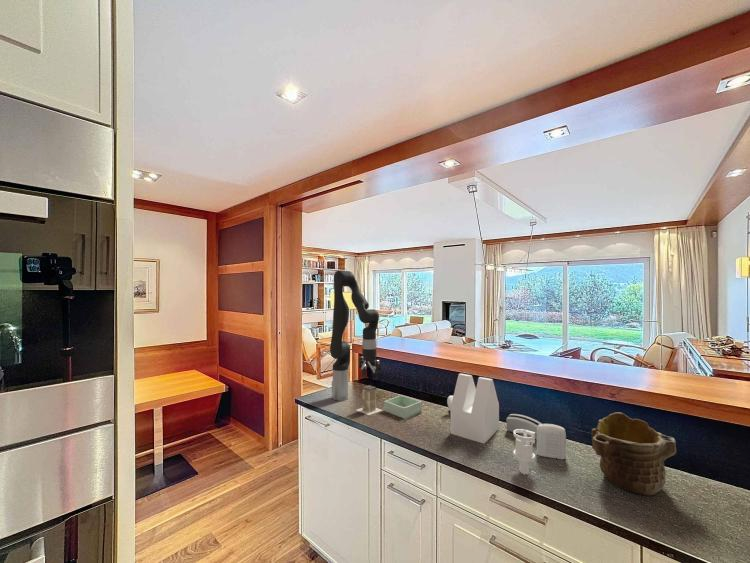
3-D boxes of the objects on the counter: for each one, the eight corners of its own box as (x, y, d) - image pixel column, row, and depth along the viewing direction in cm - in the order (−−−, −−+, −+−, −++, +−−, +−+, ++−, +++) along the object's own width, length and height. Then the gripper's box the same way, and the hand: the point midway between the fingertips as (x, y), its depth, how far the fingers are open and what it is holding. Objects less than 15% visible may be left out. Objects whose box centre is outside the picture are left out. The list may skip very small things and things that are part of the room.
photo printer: (564, 455, 129) (564, 424, 129) (567, 461, 125) (567, 428, 125) (535, 451, 132) (535, 420, 132) (537, 456, 128) (537, 425, 128)
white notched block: (467, 420, 163) (467, 369, 164) (498, 428, 154) (498, 375, 154) (450, 433, 148) (450, 378, 148) (484, 444, 139) (484, 384, 139)
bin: (383, 412, 172) (384, 401, 172) (401, 405, 182) (401, 394, 182) (404, 420, 162) (404, 408, 162) (421, 412, 172) (421, 401, 172)
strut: (362, 409, 173) (362, 387, 173) (369, 407, 176) (369, 385, 176) (369, 412, 169) (369, 389, 169) (375, 410, 173) (376, 387, 173)
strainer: (533, 480, 113) (533, 436, 113) (511, 473, 116) (511, 431, 117) (536, 470, 119) (535, 428, 119) (515, 464, 122) (515, 424, 123)
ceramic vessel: (673, 498, 90) (611, 408, 105) (602, 511, 107) (557, 431, 122) (713, 477, 100) (651, 397, 114) (642, 492, 117) (596, 420, 131)
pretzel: (458, 419, 163) (458, 401, 163) (440, 411, 173) (440, 394, 173) (473, 414, 170) (473, 397, 170) (455, 407, 180) (455, 391, 180)
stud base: (355, 411, 173) (355, 396, 173) (369, 406, 180) (369, 392, 180) (368, 417, 166) (368, 401, 166) (382, 412, 173) (382, 396, 173)
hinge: (548, 439, 143) (545, 419, 141) (544, 446, 140) (541, 426, 138) (511, 426, 155) (507, 408, 153) (506, 433, 152) (503, 414, 150)
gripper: (355, 346, 176) (355, 377, 175) (373, 350, 166) (373, 382, 165) (365, 344, 181) (365, 374, 181) (384, 348, 171) (384, 379, 171)
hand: (369, 378), depth 173 cm, fingers open, 8 cm apart
